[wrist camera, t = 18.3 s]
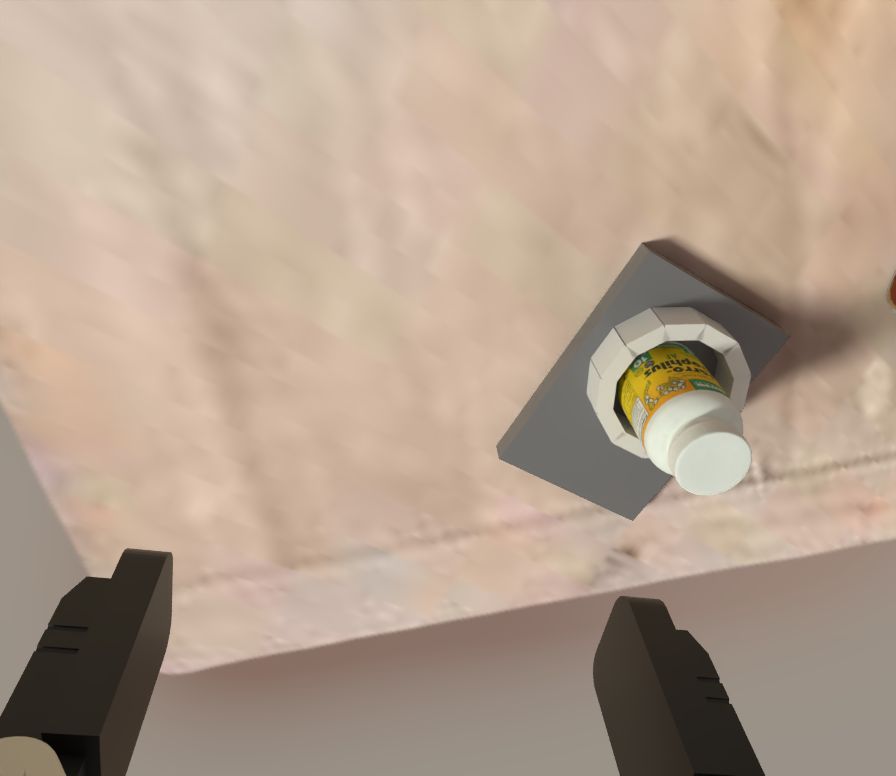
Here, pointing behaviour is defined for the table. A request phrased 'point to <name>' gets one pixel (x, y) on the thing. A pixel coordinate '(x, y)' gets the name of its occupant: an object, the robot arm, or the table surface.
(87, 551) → the table surface
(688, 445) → the supplement bottle
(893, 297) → the cine camera
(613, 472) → the mount plate
